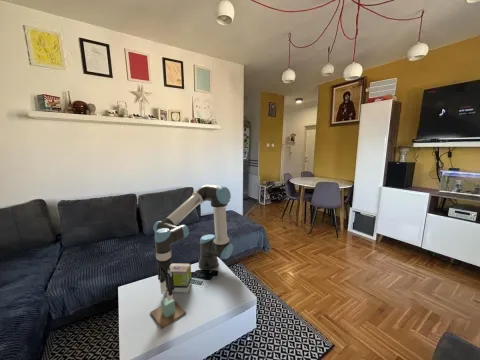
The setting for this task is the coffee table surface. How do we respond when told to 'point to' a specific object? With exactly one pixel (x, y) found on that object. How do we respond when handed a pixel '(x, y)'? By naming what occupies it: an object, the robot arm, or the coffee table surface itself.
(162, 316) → the board
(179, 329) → the coffee table surface
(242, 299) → the coffee table surface
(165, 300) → the pale green upright block
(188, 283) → the tea box
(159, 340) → the coffee table surface
